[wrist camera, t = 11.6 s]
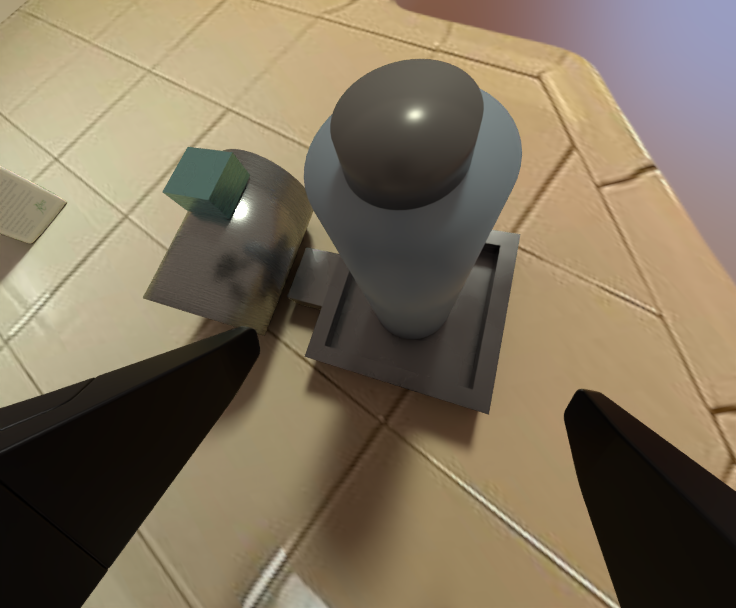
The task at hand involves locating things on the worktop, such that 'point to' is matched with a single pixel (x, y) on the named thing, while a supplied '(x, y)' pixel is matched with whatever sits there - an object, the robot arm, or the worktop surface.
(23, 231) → the syrup box
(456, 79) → the blue-grey capped bottle
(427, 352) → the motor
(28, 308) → the worktop surface
